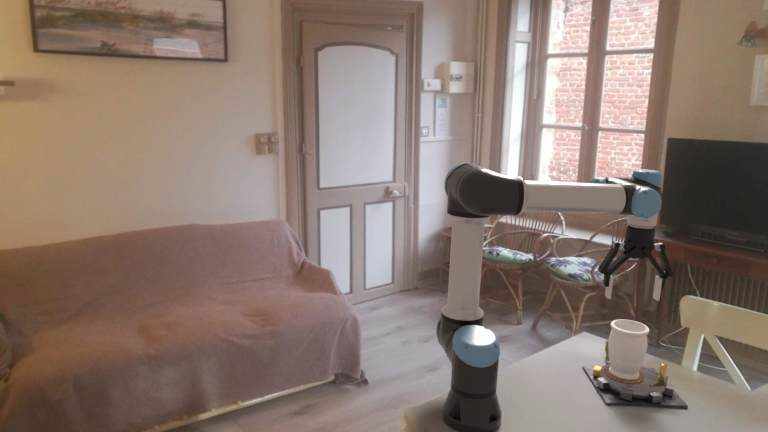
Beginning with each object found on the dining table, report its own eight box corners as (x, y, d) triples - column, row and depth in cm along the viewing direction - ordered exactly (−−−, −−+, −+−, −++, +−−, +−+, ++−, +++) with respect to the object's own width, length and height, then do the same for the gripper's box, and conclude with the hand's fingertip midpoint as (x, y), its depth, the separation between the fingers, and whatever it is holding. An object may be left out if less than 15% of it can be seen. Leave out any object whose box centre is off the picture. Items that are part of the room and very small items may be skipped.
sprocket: (585, 388, 169) (588, 362, 167) (601, 359, 187) (604, 336, 186) (668, 410, 158) (672, 383, 157) (676, 378, 177) (680, 353, 175)
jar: (646, 384, 168) (653, 334, 164) (608, 380, 170) (614, 331, 166) (638, 367, 178) (644, 320, 175) (602, 363, 180) (607, 317, 176)
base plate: (582, 367, 184) (582, 364, 184) (653, 370, 184) (654, 367, 183) (606, 405, 163) (606, 401, 162) (687, 408, 162) (688, 404, 162)
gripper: (600, 227, 161) (591, 301, 165) (693, 230, 160) (682, 304, 165) (591, 220, 168) (583, 292, 173) (680, 224, 167) (670, 295, 172)
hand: (631, 298), depth 169 cm, fingers open, 13 cm apart
